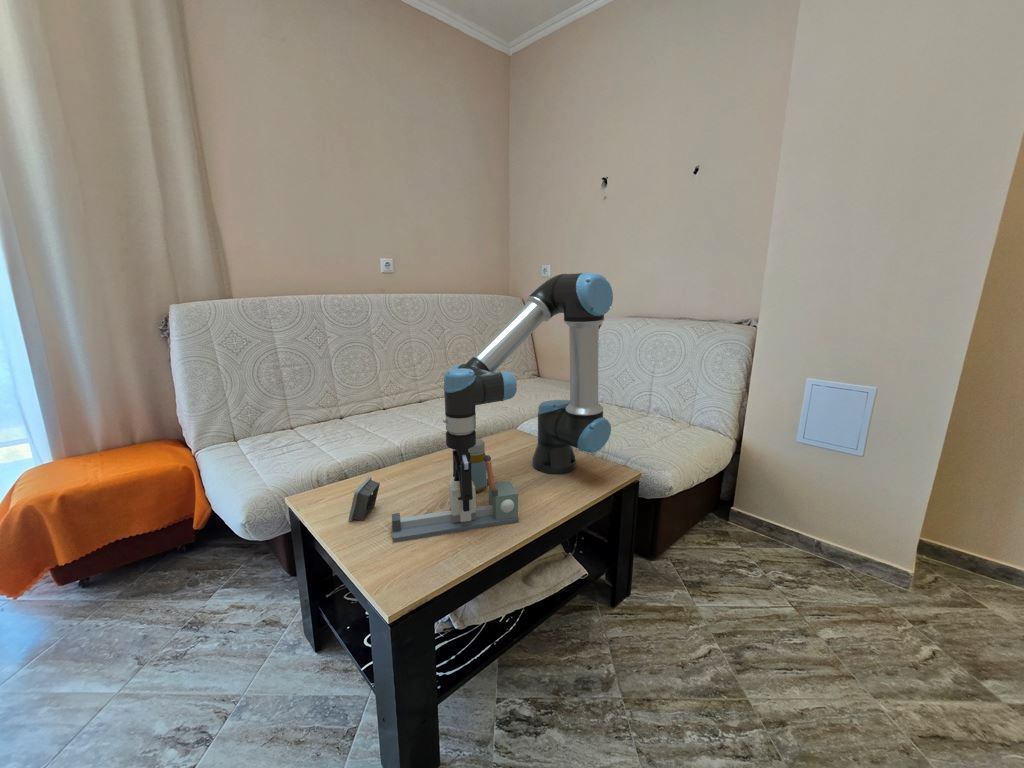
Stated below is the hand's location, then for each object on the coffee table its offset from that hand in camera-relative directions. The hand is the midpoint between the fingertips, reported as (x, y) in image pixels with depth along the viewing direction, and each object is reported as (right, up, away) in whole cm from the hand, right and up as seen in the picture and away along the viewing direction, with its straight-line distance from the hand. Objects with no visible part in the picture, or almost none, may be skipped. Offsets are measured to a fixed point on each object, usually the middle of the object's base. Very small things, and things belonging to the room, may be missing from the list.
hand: (463, 512), depth 110 cm
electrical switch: (-27, -2, +5) cm, 28 cm away
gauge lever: (+8, +6, +1) cm, 10 cm away
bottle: (+2, +2, +19) cm, 20 cm away
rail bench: (-2, -3, 0) cm, 3 cm away
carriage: (0, -1, 0) cm, 1 cm away
